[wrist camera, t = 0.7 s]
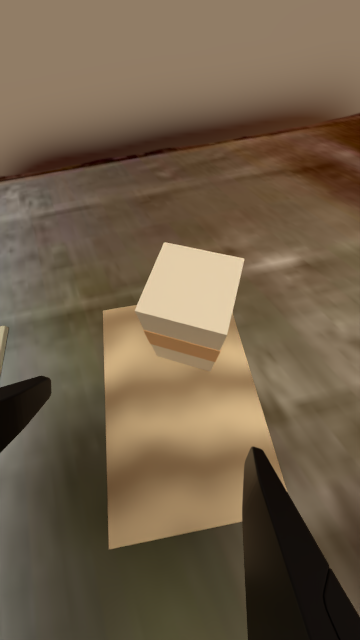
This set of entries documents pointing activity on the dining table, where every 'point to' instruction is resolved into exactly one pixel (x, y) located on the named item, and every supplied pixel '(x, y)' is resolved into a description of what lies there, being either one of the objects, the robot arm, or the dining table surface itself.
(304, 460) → the dining table surface
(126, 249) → the dining table surface
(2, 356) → the mat
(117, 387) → the board
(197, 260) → the carton
